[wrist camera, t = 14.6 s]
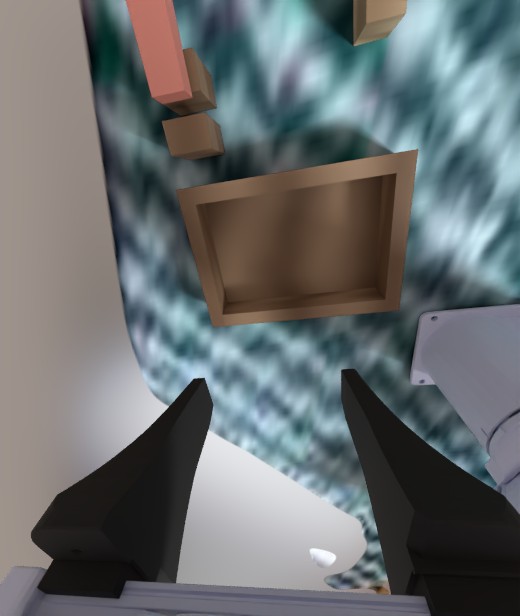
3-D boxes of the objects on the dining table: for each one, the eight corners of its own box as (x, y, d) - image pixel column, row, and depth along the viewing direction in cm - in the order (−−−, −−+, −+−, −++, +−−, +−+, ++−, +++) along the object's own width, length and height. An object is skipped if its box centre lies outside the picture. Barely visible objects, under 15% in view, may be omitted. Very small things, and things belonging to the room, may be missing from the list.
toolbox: (406, 30, 14) (445, -15, 10) (383, 293, 21) (402, 314, 17) (165, 85, 15) (135, 61, 12) (221, 309, 23) (211, 331, 19)
